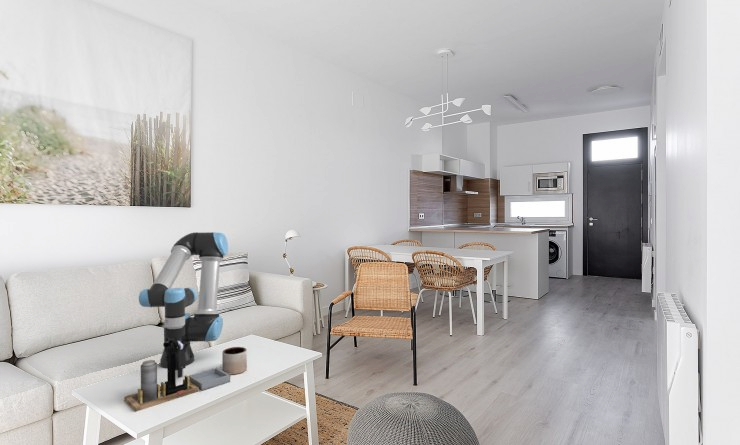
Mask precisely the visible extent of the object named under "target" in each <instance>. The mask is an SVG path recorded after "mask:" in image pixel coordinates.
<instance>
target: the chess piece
mask: <svg viewBox="0 0 740 445" xmlns="http://www.w3.org/2000/svg"><path fill="white" fill-rule="evenodd" d="M181 341H182V344H185V352H186V347H187V344H186V343H183V340H181ZM164 347H165V352H166V353H167V357H166V359H167V368H166V369H167V370H166V371H167V372H166V373H167V381H164V383H165V387H166V396H168V395H171V394H174V393H177V392H178V391H181V390H183V391H184V390H187V386H186V382H185V381H184V380H183V384H182V385H178V386H175V370H174V369H176V363H175V356H174V354H175V353H174V352H177V348H175V349H172V346H169V344H168V342H167V343H164V342H163V348H164Z"/></svg>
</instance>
